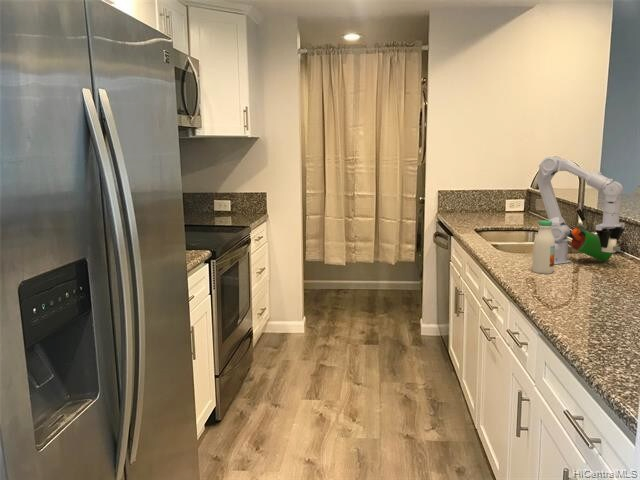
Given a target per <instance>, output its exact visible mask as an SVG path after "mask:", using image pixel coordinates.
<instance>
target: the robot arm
mask: <svg viewBox="0 0 640 480" xmlns="http://www.w3.org/2000/svg"><path fill="white" fill-rule="evenodd" d="M538 167H539V168H538V171H537V177H536V183H537V186H538V189H539V192H540V196H541V200H542V203H543V205H544V208H545V209H544V210H545V212H546V215H547V218H548V221H552V227H551V231H552V235H553V237H554V240H555V255H554V265H561V264H567V263H569V264H570V263H572V260H570V259H568V253H569V252H568V251H569V239H568V237H569V236H568V235H569V234H570V233H571V228H570V226H568V225H567V223H566V220H565V219H564V218H563V216H562V214H561V209H560V207H559V204H558V200H557V197H556V194H555V191H554V188H553V185H552V180H553V178H554V176H555V175H556V174H557V173H558V172H564V171H565V172H568V173H571V174H572V175H574V176H577V177H579V178H580V179H583V180H584V181H585V183H586V185H587V186H589V187H591V188H593V189H594V190H597V191H598V192H601V193H603V194H604V201H603V212H602V223H600V224H596V225H595V232H596V233H597V236H599V239H600V244H601V247H603V248H607V246H608V240H609V238H614V239H617V243H616V246H618V242H619V239H620V237H621V236H622V234H623V233H624V231H625V229H624V228H625V225H626V223H625V222H621V221H620V213H621V203H622V202H621V201H622V200H621V198H622V196H621V195H622V193H623V190H624V187H623V185H622V184H621V183H620V182H619V181H614V179H613V178H608V177H606V176H604V175H602V174H603V173H602V172H600V171H598V172H597V171H592V172H589V171H588V170H585V169H584V168H582V167H580V166H578V165H577V164H575V163H573V162H571V161H570V160H568V159H565V158H561V157H560V156H556V155H555V156H547V157H545V158H544V159H542V161H541V162H540V164H539V165H538Z"/></svg>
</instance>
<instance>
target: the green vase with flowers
mask: <svg viewBox="0 0 640 480" xmlns="http://www.w3.org/2000/svg"><path fill="white" fill-rule="evenodd" d="M568 237H569V238H571V241H570V242H571V247H572V248H573V249H575V250H577V252H579V253H582V254H585V255H587V256H589V257H591V258H593V259H594V260H598V261H601V262H602V263H606V262H607V261H609V260H610V258H611V257H612V255H613V253H609V252H603V251H601V250H602V247H601V244H600V239H599V236H598V234H597V235H596V234H594V233H593V232H590V231H587V230H585V229H583V228H577V227H575V228H573V230H572V231H570V234H569V235H568Z"/></svg>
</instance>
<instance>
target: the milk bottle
mask: <svg viewBox="0 0 640 480" xmlns="http://www.w3.org/2000/svg"><path fill="white" fill-rule="evenodd" d="M551 227H552V221H549V220H546V219H545V220H539V222H538V228H539V229H538V231H537V233H536V235H535V237H534V240H533V248H532V261H531V262H532V264H531V266H532V267H531V270H532V272H533V273H535V274H536V273H537V274H543V275H544V274H545V275H546V274H548V275H550V274H552V273H553V272H554V268H555V264H554V255H555V240H554V237H553V235H552V231H551Z"/></svg>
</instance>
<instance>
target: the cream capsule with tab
mask: <svg viewBox="0 0 640 480" xmlns="http://www.w3.org/2000/svg"><path fill="white" fill-rule="evenodd" d="M616 243H617V239H614V238H610V237H609V240H608V246H607V248H603V247H602V250H601V251H603V252H609V253H612V254H614V253H616V252H621V246H618V245H617V246H616ZM617 244H618V243H617Z"/></svg>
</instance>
